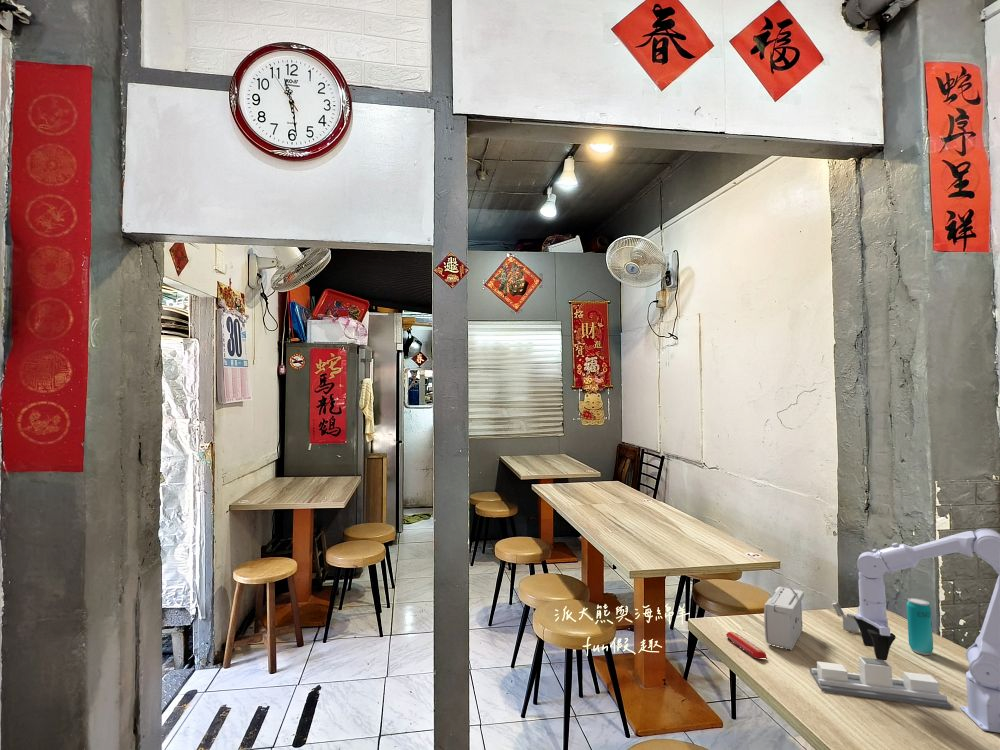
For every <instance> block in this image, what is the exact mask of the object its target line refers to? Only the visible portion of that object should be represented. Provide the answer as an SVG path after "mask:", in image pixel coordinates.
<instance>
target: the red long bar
mask: <svg viewBox="0 0 1000 750" xmlns="http://www.w3.org/2000/svg"><path fill="white" fill-rule="evenodd" d="M725 635H726V638H727V637H728V638H729V639H730V640H731V641H733V642H734V643H735V644H737V645H738V646H739V647H738V646H737V645H736V646H737V647H738V648H740V647H741V648H742V649H741V648H740V649H741V650H743V649H744V650H745V651H746V652H745V651H744V650H743V651H744V652H745V653H747V652H748V653H749V654H748V653H747V654H748V655H750V654H751V655H752V656H751V655H750V656H751V657H753V658H754V657H755V658H754V659H757V658H766V659H765V660H767V659H768V657H767V653H766V652H765V651H764V650H762V649H761V648H760V647H758V646H757V645H755V644H754V643H752V642H751V641H749V640H748V639H746V638H745V637H743V636H742V635H740V634H738V633H737V632H733V631H728V632H727V633H726V634H725ZM728 638H727V639H728ZM729 639H728V640H729ZM730 640H729V641H730ZM731 641H730V642H731ZM733 642H732V643H733ZM734 643H733V644H734ZM735 644H734V645H735Z"/></svg>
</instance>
